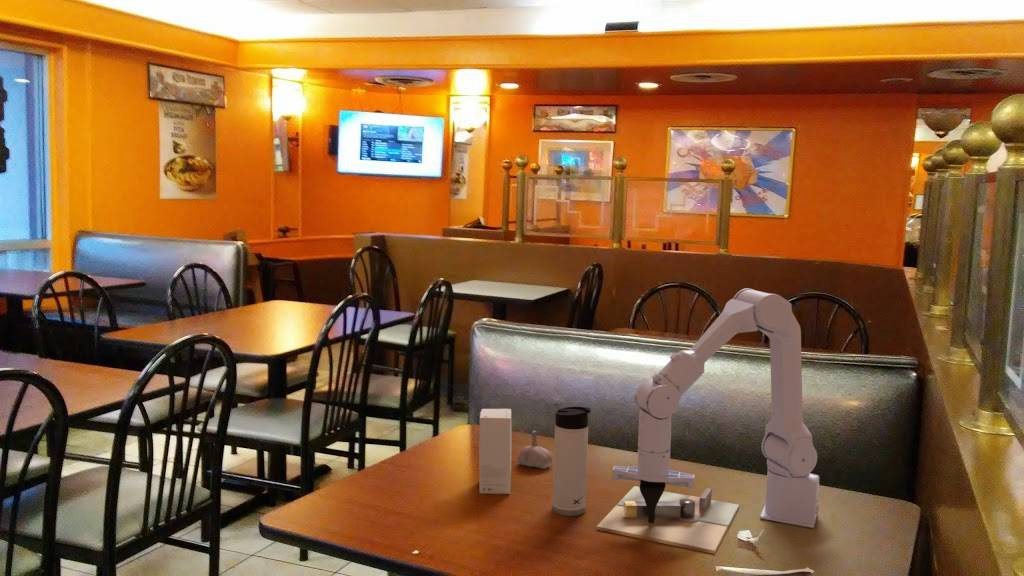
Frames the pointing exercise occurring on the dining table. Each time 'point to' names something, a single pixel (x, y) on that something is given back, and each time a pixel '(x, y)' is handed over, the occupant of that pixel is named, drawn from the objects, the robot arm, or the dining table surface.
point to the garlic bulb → (535, 455)
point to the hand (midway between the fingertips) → (651, 521)
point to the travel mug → (570, 461)
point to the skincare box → (495, 451)
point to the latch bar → (661, 509)
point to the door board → (675, 522)
